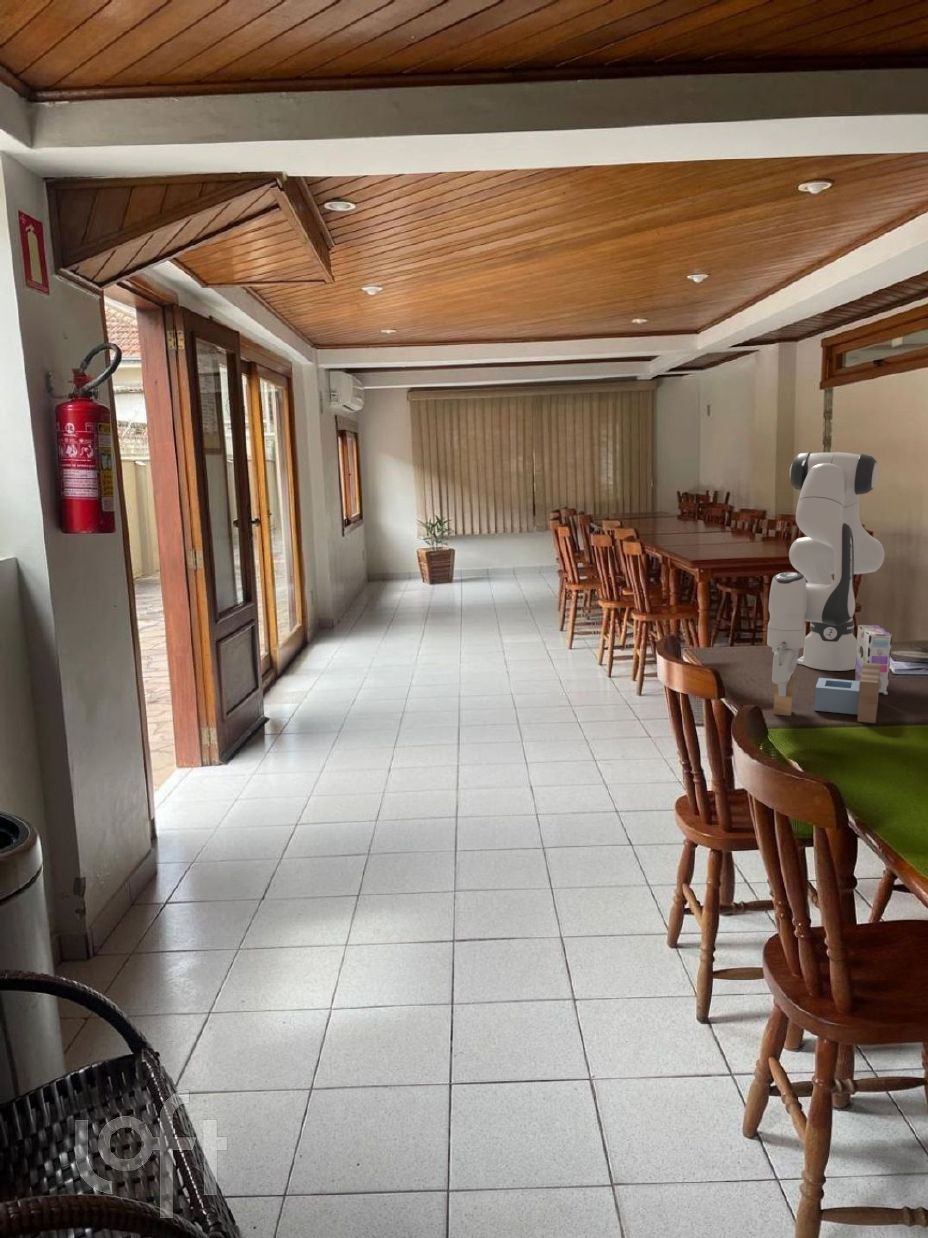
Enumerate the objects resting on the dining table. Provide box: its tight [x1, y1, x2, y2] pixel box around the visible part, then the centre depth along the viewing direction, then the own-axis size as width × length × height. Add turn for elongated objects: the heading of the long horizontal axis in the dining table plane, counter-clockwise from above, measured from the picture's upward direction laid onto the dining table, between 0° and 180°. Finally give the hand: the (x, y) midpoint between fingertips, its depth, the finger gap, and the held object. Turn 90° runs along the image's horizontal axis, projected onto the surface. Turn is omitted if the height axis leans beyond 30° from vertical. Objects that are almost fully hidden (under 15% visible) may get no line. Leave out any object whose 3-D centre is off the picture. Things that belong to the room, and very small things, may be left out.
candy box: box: [854, 624, 893, 696], centre depth 243 cm, size 14×6×16 cm, turn 168°
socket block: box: [814, 677, 860, 716], centre depth 227 cm, size 10×10×6 cm
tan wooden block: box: [772, 672, 795, 717], centre depth 224 cm, size 4×4×10 cm
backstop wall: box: [856, 662, 880, 724], centre depth 223 cm, size 20×4×10 cm, turn 154°
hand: (783, 692), depth 224 cm, fingers closed on tan wooden block, 4 cm apart
